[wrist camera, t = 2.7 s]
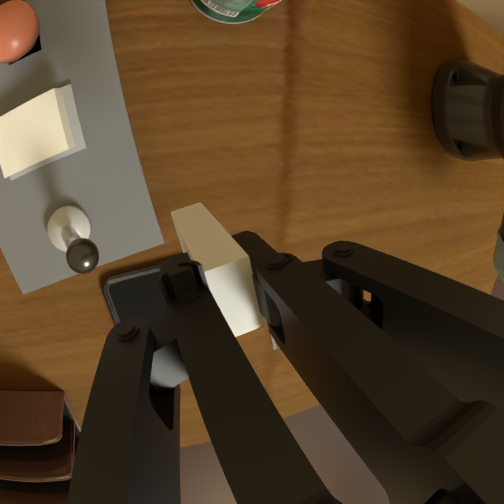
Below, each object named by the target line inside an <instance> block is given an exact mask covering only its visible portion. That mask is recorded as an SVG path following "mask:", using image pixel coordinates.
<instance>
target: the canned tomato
mask: <svg viewBox="0 0 504 504" xmlns="http://www.w3.org/2000/svg"><path fill="white" fill-rule="evenodd" d="M190 1H191V3H192V4H193V6H194V7H195V8H196V9H197V10H198V11H199V12H200V13H201V14H203V15H204V16H206V17H208V18H210V19H212V20H214V21H217V22H220V23H227V24H240V23H245V22H248V21H251V20H254V19H255V18H257V17H259V16H260V15H261V14H262V13H263V12H265V11H267V10H268V9H270V8H271V7H272V6H274V5H275V4H277V3H278V2H280V1H281V0H190Z"/></svg>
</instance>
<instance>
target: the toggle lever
mask: <svg viewBox="0 0 504 504" xmlns="http://www.w3.org/2000/svg"><path fill="white" fill-rule="evenodd" d="M61 237H62V239H63V241H64V243H65V245H66V247H67V251H66V260H67V263H68V265H69V267H70V268H71V269H72V270H73V271H75V272H76V273H80V274H86V273H89V272H91V271H92V270H94V269H95V267H96V266H97V264H98V261H99V250H98V248H97V246H96V245H95V243H94V242H93V241H91V240H89V239H87V238H81V237H80V235H79V234H78V233H77V231H76V230H75V229H74V228H73V227H72V226H70V225H67V226H65V227H63V228H62V230H61Z"/></svg>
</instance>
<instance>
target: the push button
mask: <svg viewBox="0 0 504 504" xmlns="http://www.w3.org/2000/svg"><path fill="white" fill-rule="evenodd" d="M39 31H40V19H39V16H38V15H37V13H36V12H35V11H34V10H33V9H32V8H31V7H30V6H29V4H28V3H26V2H24V1H21V0H12V1H8V2H6V3H4V4H2V5H0V63H3V64H4V63H11V62H14V61H16V60H18V59H19V58H21V57H22V56H24V55H25V54H27V53H29V52H30V51H31V50H32V49H33V48H34V46H35V44H36V39H37V37H38V35H39Z"/></svg>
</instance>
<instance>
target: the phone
mask: <svg viewBox="0 0 504 504" xmlns="http://www.w3.org/2000/svg"><path fill="white" fill-rule="evenodd" d="M160 266H161V264H158V265H154V266H150V267H146V268H142V269H138V270H134V271H130V272H126V273H122V274H118V275H114V276H111V277H109V278H107V279H106V281H105V282H104V288H103V291H104V295H105V297H106V300H107V303H108V305H109V308H110V311H111V313H112V316H113V318H114V321H115V323H116V325H117V324H118V323H120V322H122V321H124V320H127V319H130V318H141V319H145V320H146V321H147V322H148V324H149V323H150V322H152V321H154V320H155V319H157V318H158V317H160V316H161V315H162V314H163V313H164V312H165V310H166V309H167V302H166V300H165V297H164V295H163V292H162V290H161V287H160V285H159V282H158V275H159V274H160V273H161V271H160Z"/></svg>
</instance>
